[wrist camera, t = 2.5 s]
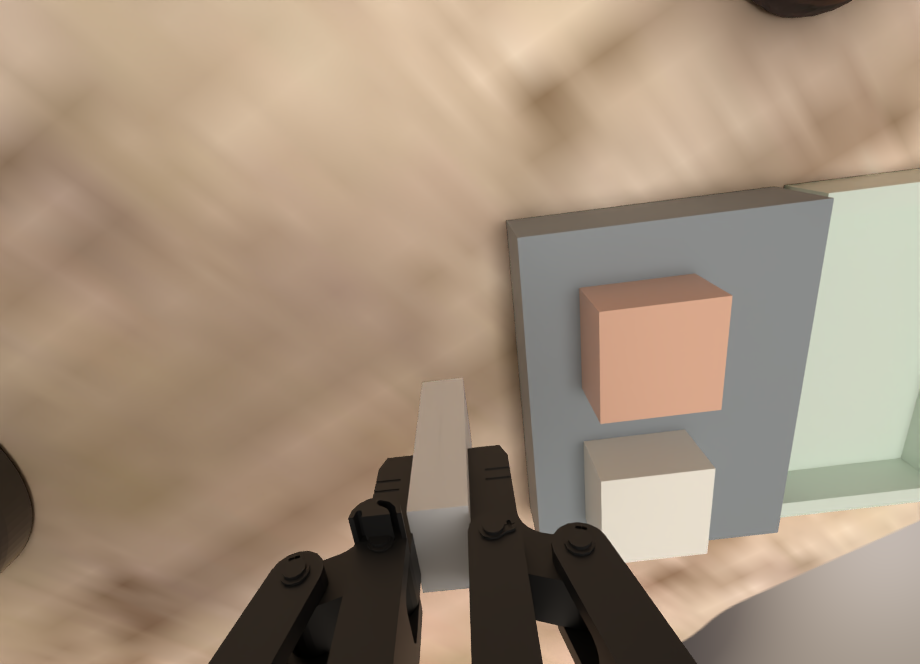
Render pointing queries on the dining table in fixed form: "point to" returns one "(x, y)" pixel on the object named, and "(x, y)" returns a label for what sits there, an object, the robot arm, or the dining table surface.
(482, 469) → the robot arm
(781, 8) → the mortar and pestle
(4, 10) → the dining table surface
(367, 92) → the dining table surface
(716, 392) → the tile terracotta
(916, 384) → the tray
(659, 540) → the tile cream
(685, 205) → the grey rectangular slab
